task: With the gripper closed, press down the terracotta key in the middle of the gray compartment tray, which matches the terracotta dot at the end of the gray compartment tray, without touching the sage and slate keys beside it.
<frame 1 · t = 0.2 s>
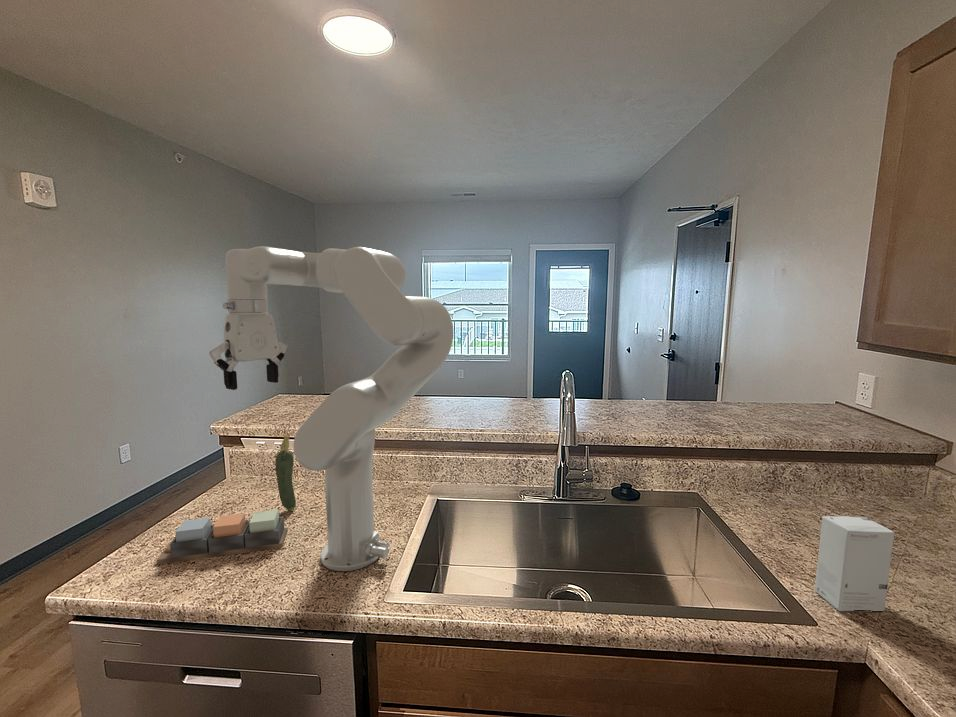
hand: (253, 385, 96), 35 cm above the worktop, tool pointing down, fingers open, 9 cm apart
terracotta key: (230, 528, 95), point 4 cm above the worktop, slide at 0.0 cm
gray compartment tray: (231, 546, 96), on the worktop
vegetable: (287, 511, 113), on the worktop
skincare box: (848, 602, 78), on the worktop
slate key: (194, 533, 94), point 4 cm above the worktop, slide at 0.0 cm
sage key: (264, 524, 97), point 4 cm above the worktop, slide at 0.0 cm
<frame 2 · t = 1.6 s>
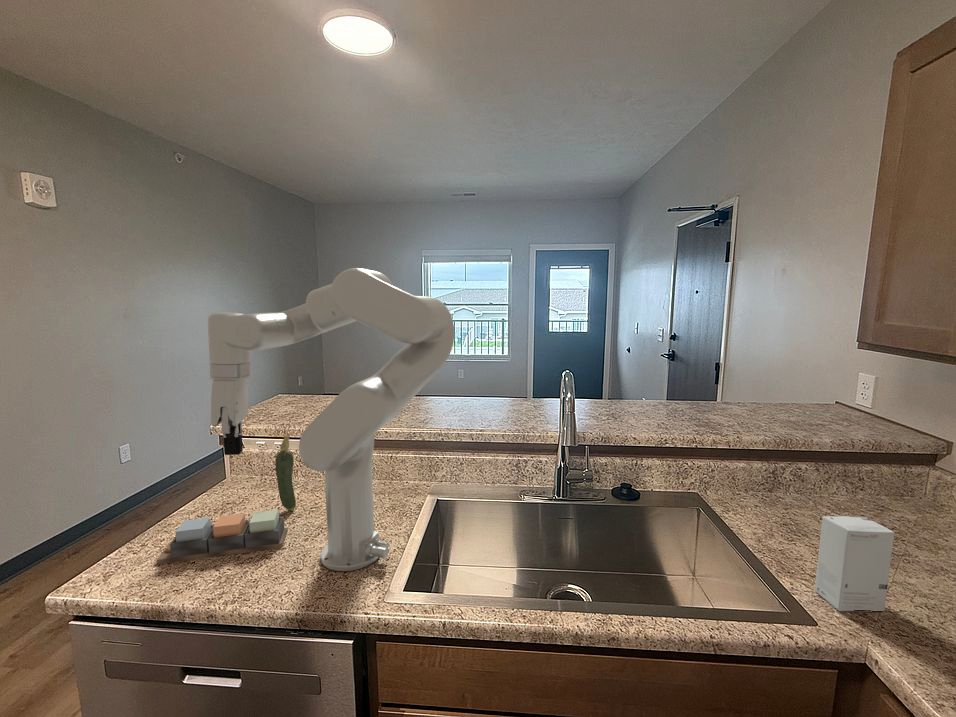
hand: (233, 453, 95), 21 cm above the worktop, tool pointing down, fingers closed
nothing on the worktop moved.
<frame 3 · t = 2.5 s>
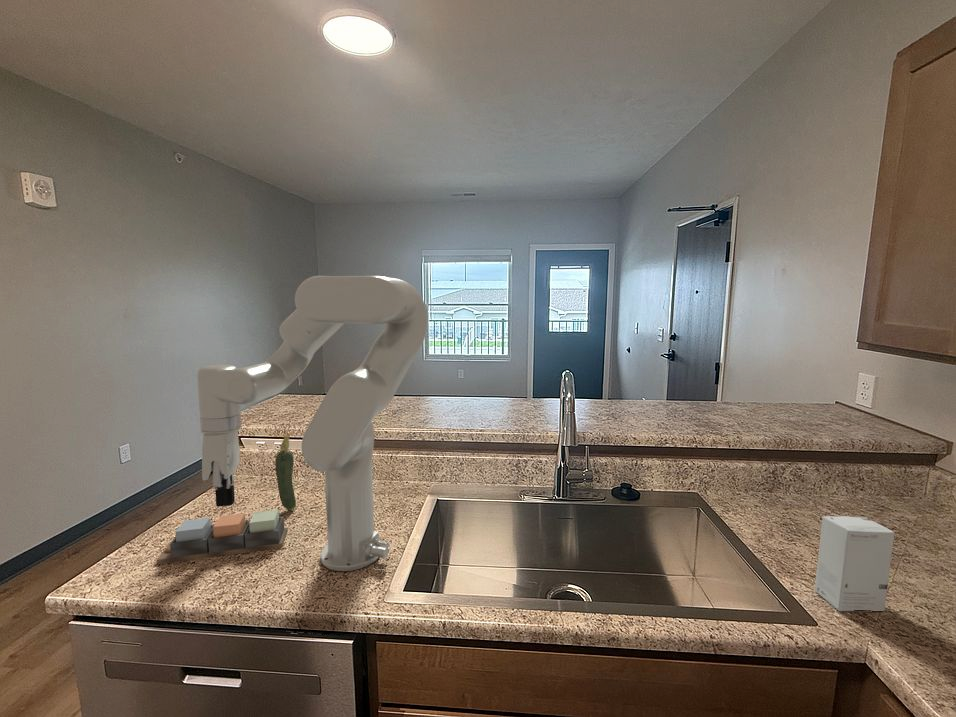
hand: (225, 504, 95), 10 cm above the worktop, tool pointing down, fingers closed
nothing on the worktop moved.
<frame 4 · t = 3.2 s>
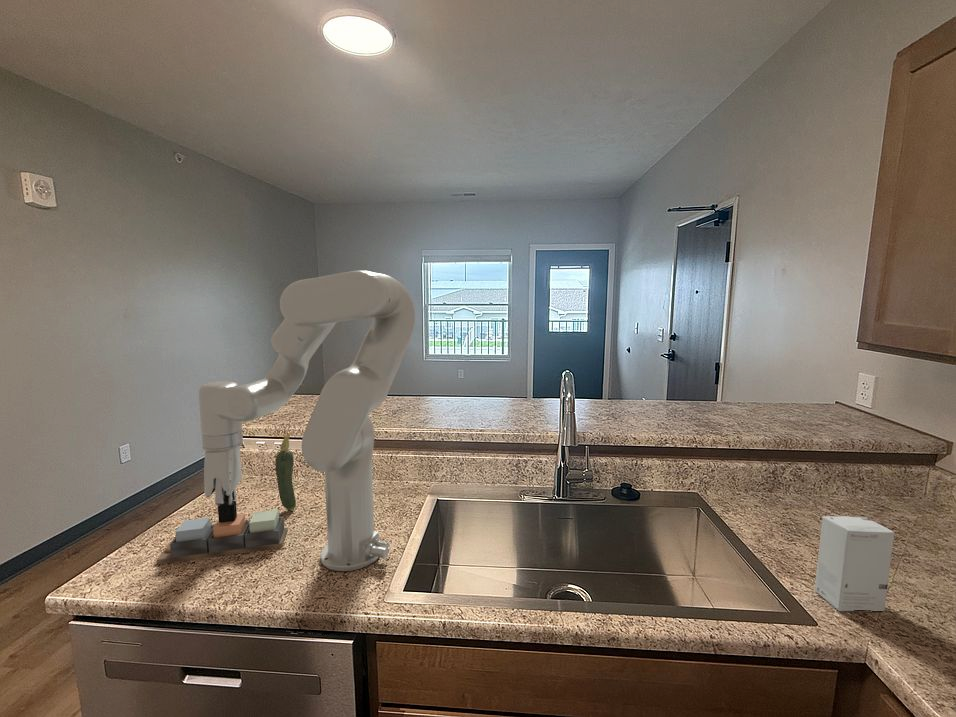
hand: (228, 520, 95), 6 cm above the worktop, tool pointing down, fingers closed
terracotta key: (230, 528, 95), point 4 cm above the worktop, slide at 0.1 cm, touching gripper
everything else where it was.
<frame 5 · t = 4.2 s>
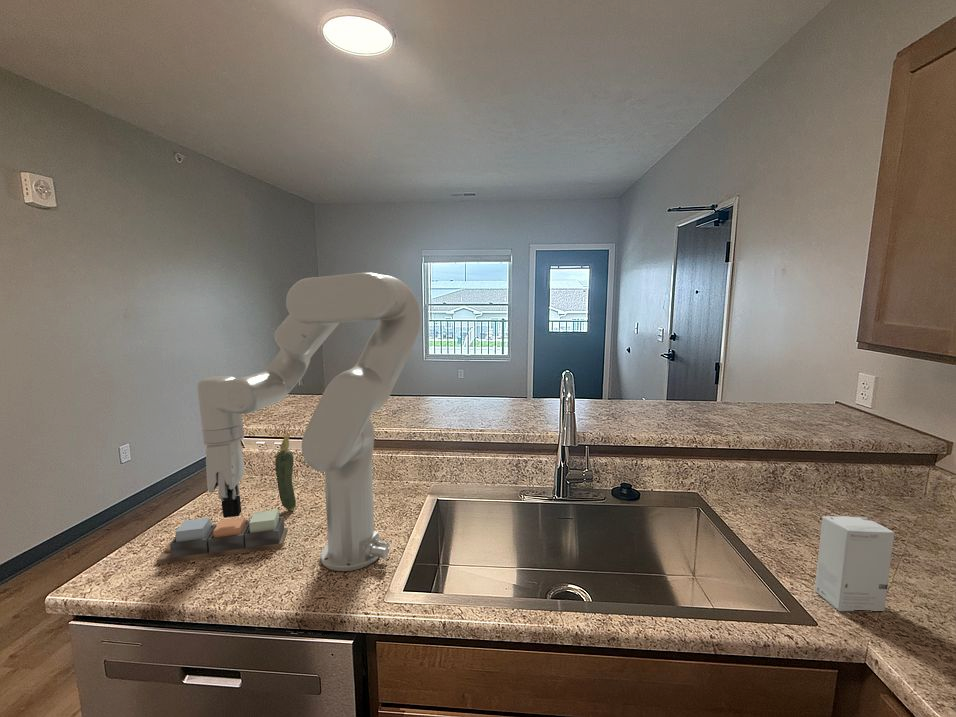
hand: (232, 515, 95), 7 cm above the worktop, tool pointing down, fingers closed
terracotta key: (230, 532, 95), point 3 cm above the worktop, slide at 0.9 cm
everything else where it was.
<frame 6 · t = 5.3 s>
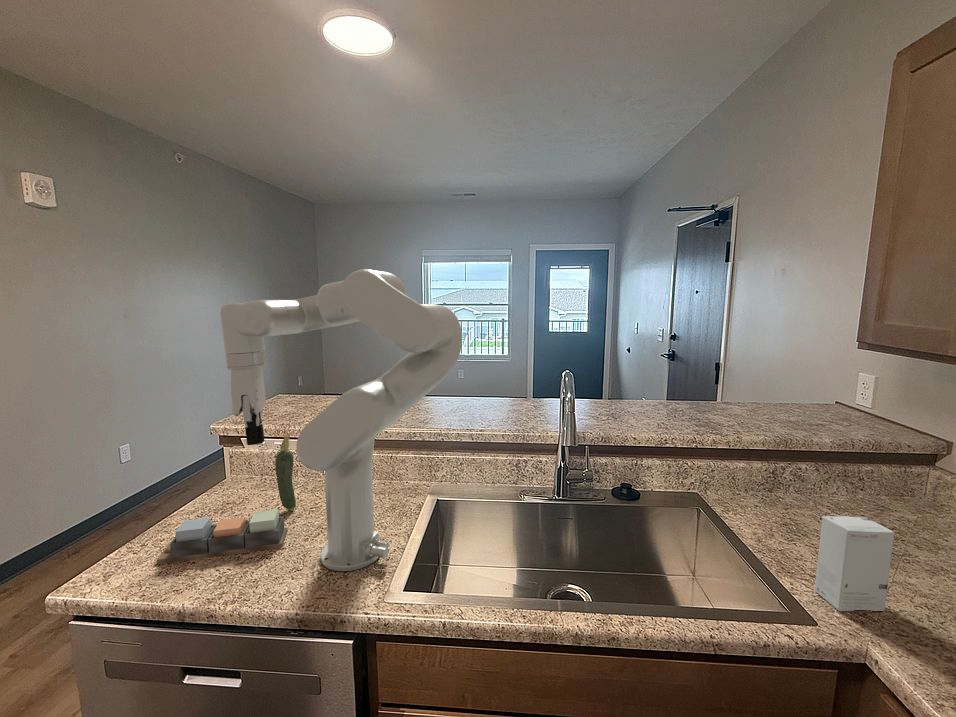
hand: (256, 443, 95), 23 cm above the worktop, tool pointing down, fingers closed
nothing on the worktop moved.
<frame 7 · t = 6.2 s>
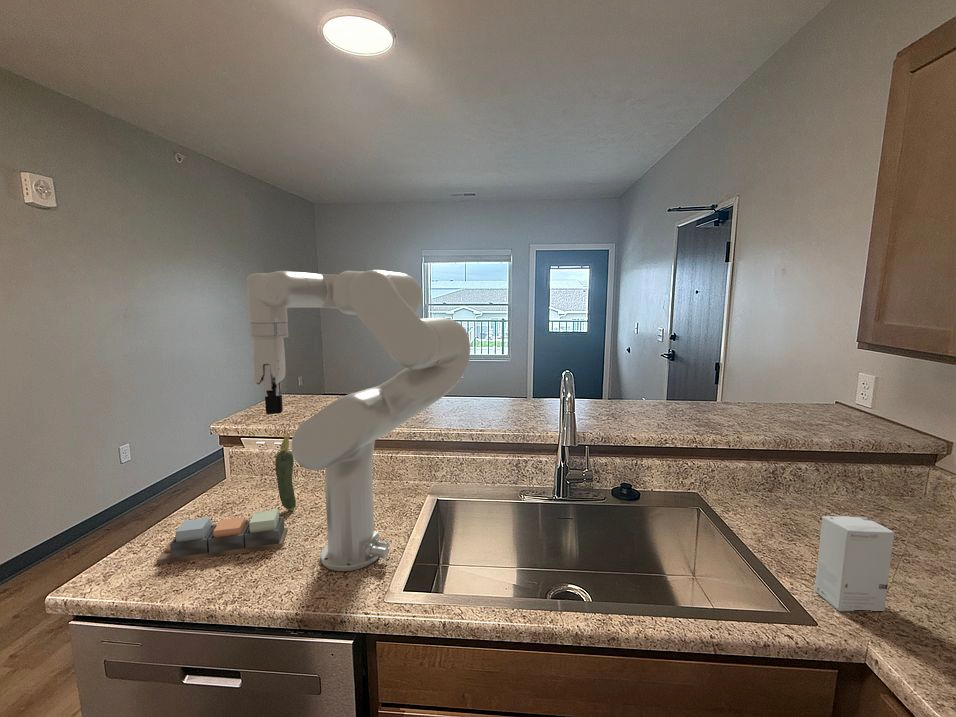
hand: (274, 412, 97), 29 cm above the worktop, tool pointing down, fingers closed
nothing on the worktop moved.
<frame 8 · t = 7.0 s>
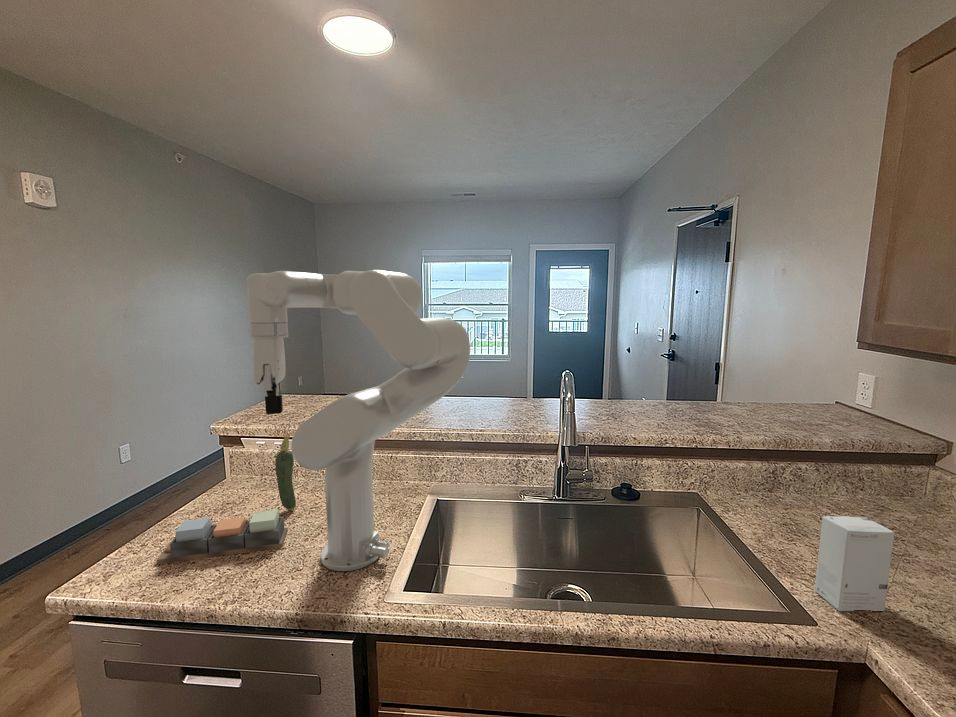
hand: (274, 412, 97), 29 cm above the worktop, tool pointing down, fingers closed
nothing on the worktop moved.
at the end: terracotta key slide at 0.9 cm; sage key slide at 0.0 cm; slate key slide at 0.0 cm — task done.
